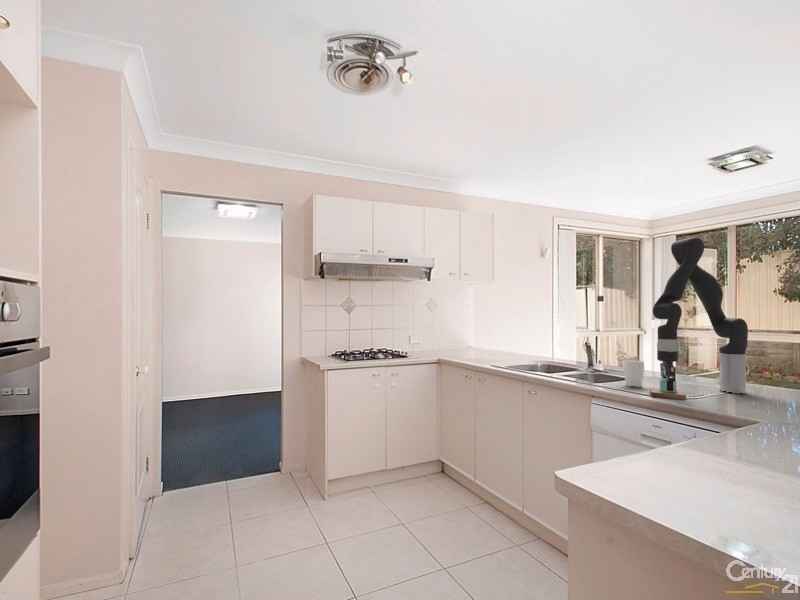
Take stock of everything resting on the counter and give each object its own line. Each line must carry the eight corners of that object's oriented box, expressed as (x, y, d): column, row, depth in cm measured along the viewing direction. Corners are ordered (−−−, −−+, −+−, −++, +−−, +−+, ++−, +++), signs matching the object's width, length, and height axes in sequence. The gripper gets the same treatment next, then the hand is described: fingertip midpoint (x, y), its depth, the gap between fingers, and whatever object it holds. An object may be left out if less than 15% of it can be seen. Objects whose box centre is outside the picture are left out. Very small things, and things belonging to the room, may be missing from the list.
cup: (648, 387, 197) (648, 362, 197) (629, 387, 197) (629, 362, 197) (637, 384, 206) (637, 360, 206) (619, 384, 206) (619, 359, 206)
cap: (658, 389, 180) (658, 377, 181) (673, 390, 179) (673, 378, 179) (662, 391, 175) (662, 379, 175) (677, 392, 173) (677, 380, 173)
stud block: (649, 392, 185) (649, 379, 186) (682, 394, 180) (682, 382, 180) (651, 397, 175) (651, 383, 175) (685, 400, 169) (685, 386, 169)
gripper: (653, 348, 185) (653, 386, 185) (661, 350, 172) (662, 392, 171) (672, 348, 183) (673, 387, 182) (683, 351, 169) (683, 393, 169)
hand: (668, 389), depth 177 cm, fingers closed on cap, 5 cm apart
